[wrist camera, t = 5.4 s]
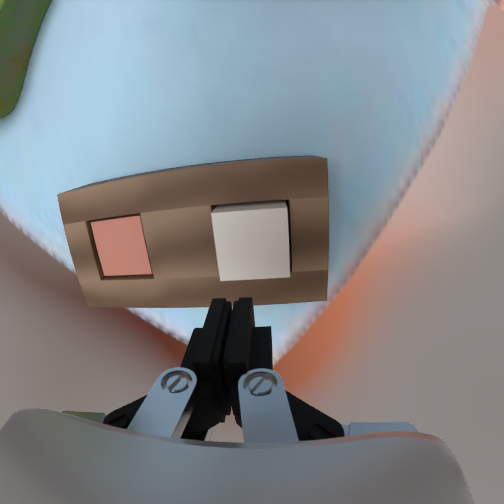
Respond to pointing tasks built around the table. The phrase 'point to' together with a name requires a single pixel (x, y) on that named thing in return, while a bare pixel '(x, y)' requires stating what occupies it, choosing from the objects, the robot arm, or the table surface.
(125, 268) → the key red
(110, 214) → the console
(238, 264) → the key ivory
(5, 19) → the first aid kit
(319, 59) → the table surface
